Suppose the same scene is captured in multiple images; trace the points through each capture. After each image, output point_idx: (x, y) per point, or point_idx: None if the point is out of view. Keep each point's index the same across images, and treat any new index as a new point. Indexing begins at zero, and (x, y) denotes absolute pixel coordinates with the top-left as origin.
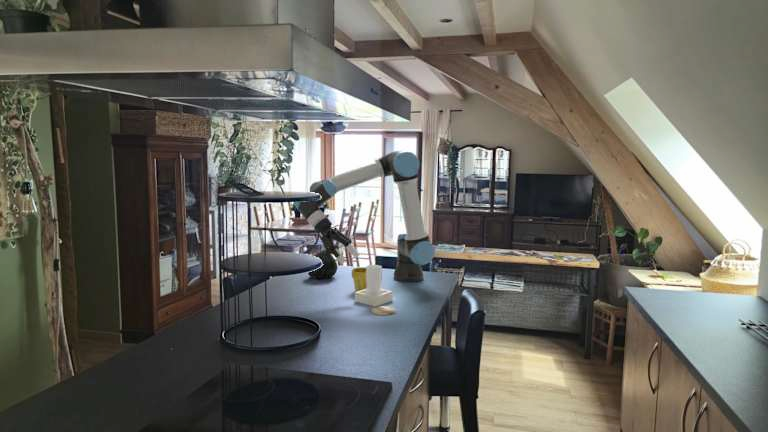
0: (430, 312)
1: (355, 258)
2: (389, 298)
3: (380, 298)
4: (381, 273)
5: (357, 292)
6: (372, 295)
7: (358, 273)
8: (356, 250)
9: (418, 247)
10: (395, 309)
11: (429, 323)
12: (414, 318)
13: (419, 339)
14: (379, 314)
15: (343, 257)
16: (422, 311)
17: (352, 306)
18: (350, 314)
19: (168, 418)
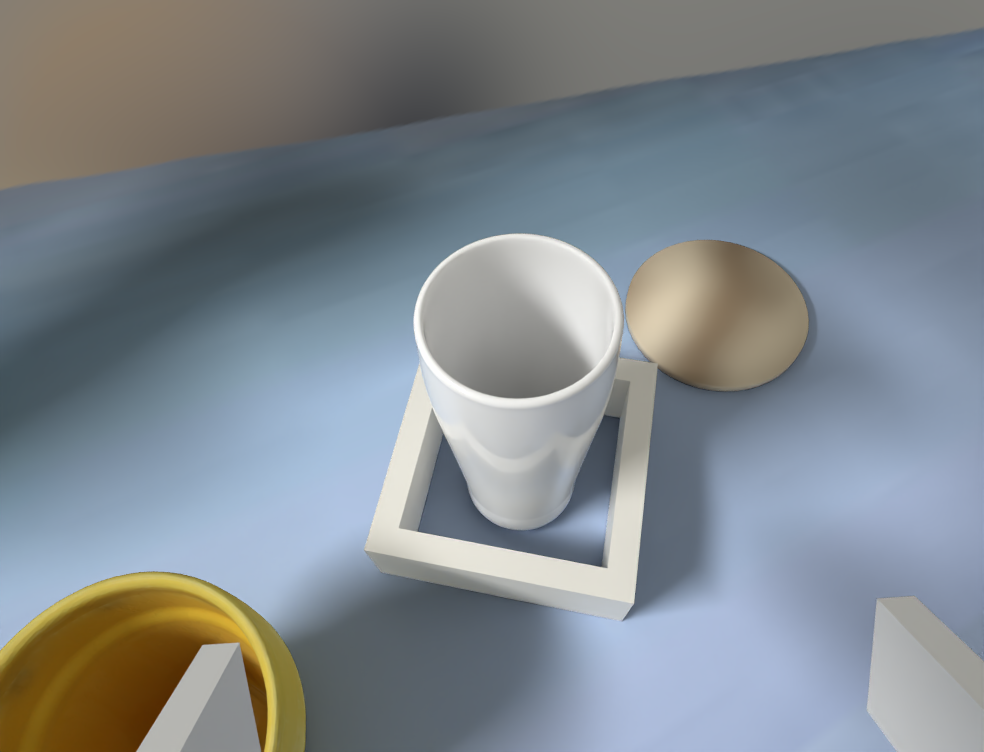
0: (570, 115)
1: (253, 750)
2: None
3: None
4: (507, 280)
5: (623, 576)
6: (635, 407)
7: (285, 727)
8: (151, 734)
9: None
10: (661, 254)
11: (744, 69)
12: (720, 139)
13: (974, 37)
14: (801, 302)
15: (960, 646)
16: (576, 148)
17: (757, 565)
18: (938, 474)
19: None
